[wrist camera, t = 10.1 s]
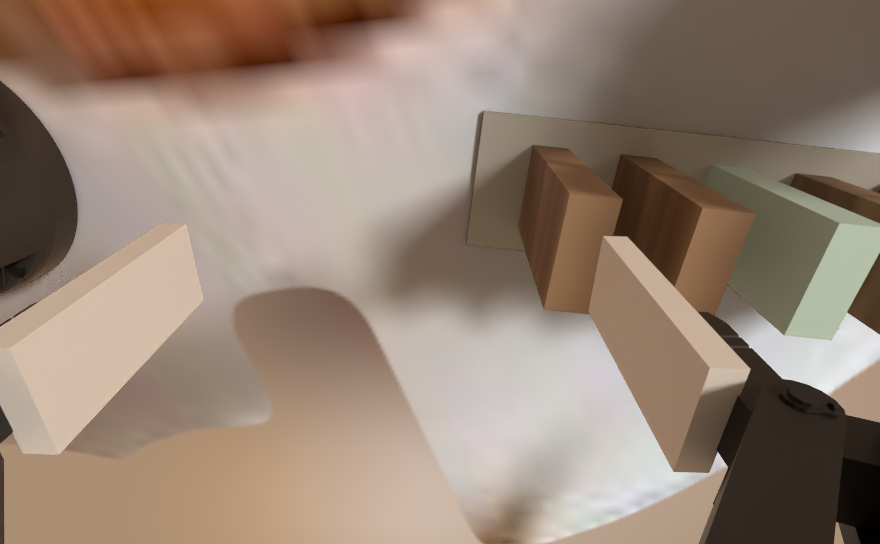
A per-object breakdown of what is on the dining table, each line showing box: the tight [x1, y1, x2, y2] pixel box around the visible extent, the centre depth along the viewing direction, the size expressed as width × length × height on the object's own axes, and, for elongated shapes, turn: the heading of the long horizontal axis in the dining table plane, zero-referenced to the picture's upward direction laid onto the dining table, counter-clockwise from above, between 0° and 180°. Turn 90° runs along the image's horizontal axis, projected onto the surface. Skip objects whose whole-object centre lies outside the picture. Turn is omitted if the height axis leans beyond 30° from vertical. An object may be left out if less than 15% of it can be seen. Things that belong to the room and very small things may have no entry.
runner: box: [466, 111, 880, 251], centre depth 28 cm, size 28×8×1 cm, turn 84°
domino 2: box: [612, 154, 756, 315], centre depth 23 cm, size 2×5×10 cm, turn 174°
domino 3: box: [790, 173, 880, 334], centre depth 23 cm, size 2×5×10 cm, turn 175°
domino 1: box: [518, 145, 623, 314], centre depth 23 cm, size 2×5×10 cm, turn 174°
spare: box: [704, 164, 880, 340], centre depth 23 cm, size 2×5×10 cm, turn 175°
